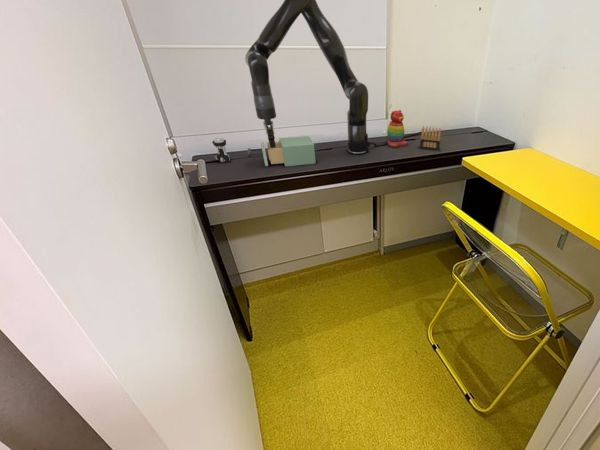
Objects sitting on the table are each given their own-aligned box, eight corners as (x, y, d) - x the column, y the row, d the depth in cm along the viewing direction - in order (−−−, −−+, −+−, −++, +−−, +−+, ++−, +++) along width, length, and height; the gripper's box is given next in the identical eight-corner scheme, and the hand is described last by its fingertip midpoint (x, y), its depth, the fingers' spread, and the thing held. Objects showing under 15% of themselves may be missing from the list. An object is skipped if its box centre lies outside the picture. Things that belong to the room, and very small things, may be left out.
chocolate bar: (281, 155, 144) (280, 149, 142) (282, 159, 141) (281, 152, 139) (268, 157, 142) (267, 150, 140) (269, 160, 138) (268, 153, 137)
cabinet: (285, 166, 139) (282, 146, 134) (282, 156, 148) (279, 138, 143) (315, 163, 144) (313, 144, 139) (311, 154, 153) (309, 135, 148)
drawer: (250, 167, 134) (247, 151, 130) (249, 158, 142) (246, 142, 138) (294, 163, 140) (292, 147, 136) (291, 154, 149) (289, 139, 145)
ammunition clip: (439, 149, 170) (442, 127, 163) (439, 150, 168) (442, 128, 162) (419, 147, 171) (421, 125, 164) (419, 148, 169) (421, 126, 163)
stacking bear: (392, 148, 167) (394, 114, 157) (382, 142, 174) (383, 109, 164) (408, 145, 173) (411, 112, 163) (398, 139, 179) (400, 107, 169)
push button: (212, 162, 138) (205, 140, 133) (219, 157, 143) (214, 136, 137) (226, 163, 138) (220, 141, 132) (233, 159, 142) (228, 137, 137)
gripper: (276, 109, 124) (283, 149, 133) (272, 101, 135) (279, 138, 144) (256, 110, 122) (264, 151, 131) (254, 102, 132) (262, 140, 142)
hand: (272, 144), depth 138 cm, fingers open, 7 cm apart
